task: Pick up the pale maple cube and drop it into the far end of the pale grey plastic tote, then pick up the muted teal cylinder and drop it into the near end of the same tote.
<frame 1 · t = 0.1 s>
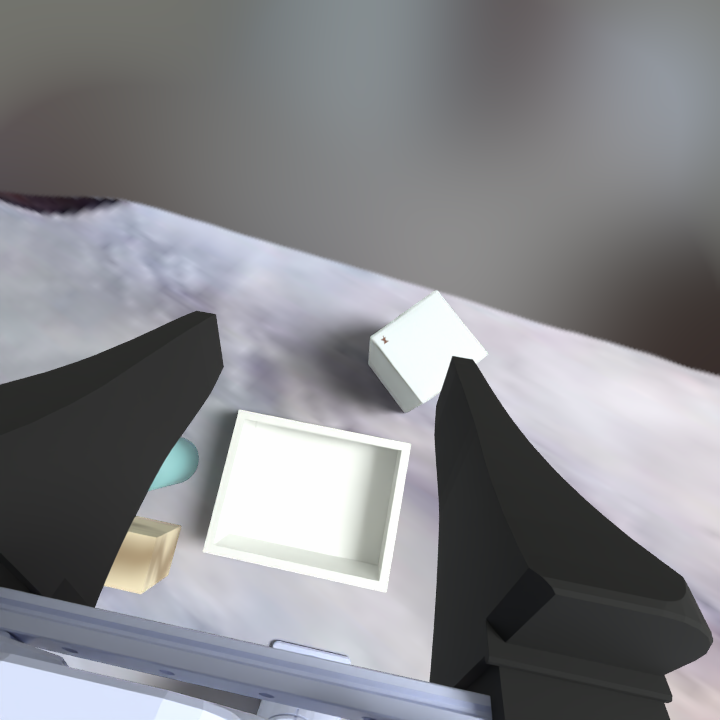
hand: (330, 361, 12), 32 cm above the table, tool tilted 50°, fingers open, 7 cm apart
maple cube: (152, 545, 41), on the table
tote: (315, 489, 42), on the table
teal cylinder: (176, 460, 42), on the table
supplement box: (410, 370, 44), on the table
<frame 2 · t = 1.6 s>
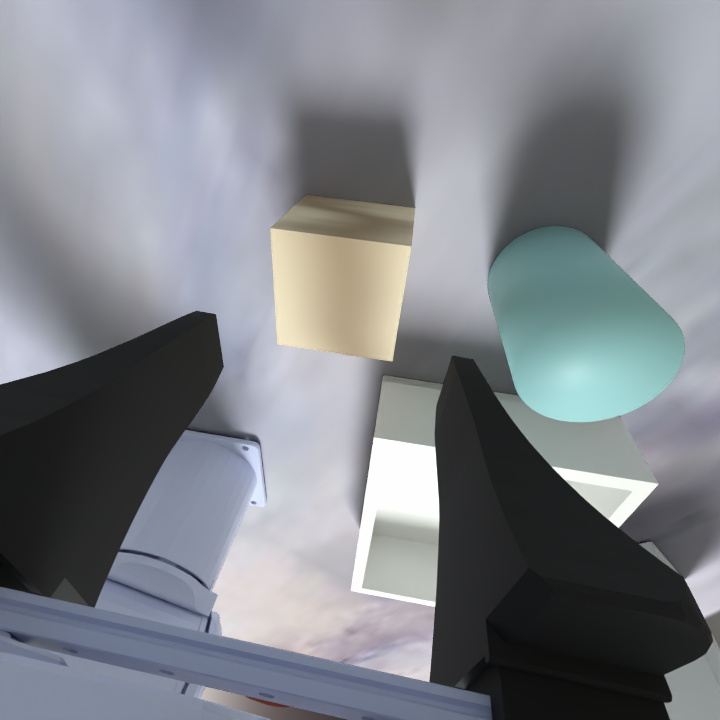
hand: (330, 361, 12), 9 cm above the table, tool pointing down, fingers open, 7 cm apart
maple cube: (356, 253, 19), on the table
tote: (461, 482, 28), on the table
teal cylinder: (542, 279, 18), on the table
supplement box: (619, 568, 32), on the table
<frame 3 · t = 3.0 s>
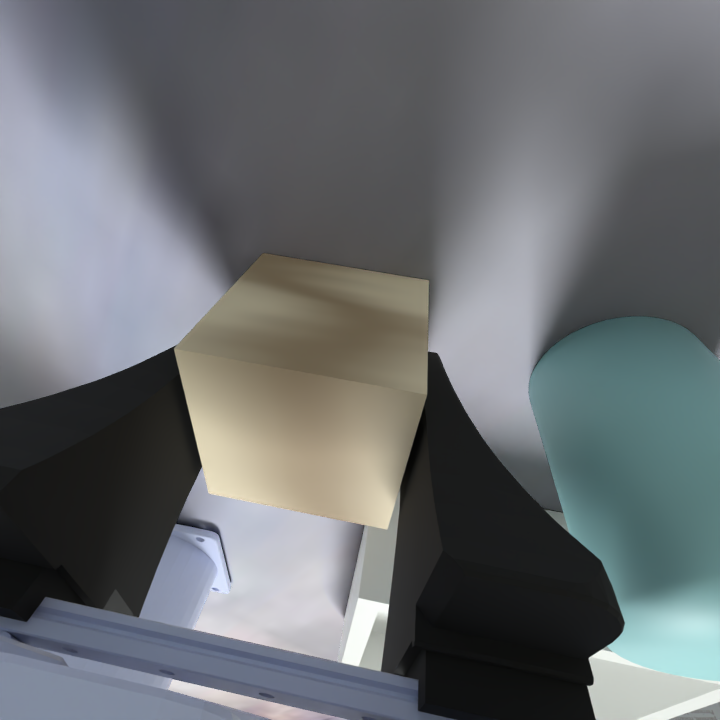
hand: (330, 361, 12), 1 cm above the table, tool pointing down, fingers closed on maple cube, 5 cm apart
maple cube: (338, 335, 13), on the table, touching gripper
tote: (470, 589, 22), on the table
teal cylinder: (611, 383, 12), on the table
supplement box: (653, 678, 26), on the table
when the fingers open (4 cm above the table, at t = 7.0 s): maple cube drops 2 cm, resting on tote.
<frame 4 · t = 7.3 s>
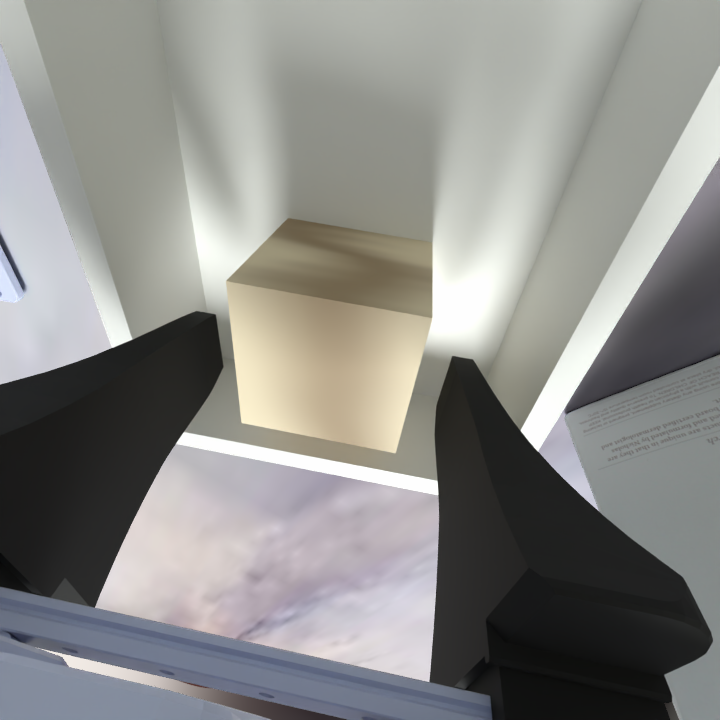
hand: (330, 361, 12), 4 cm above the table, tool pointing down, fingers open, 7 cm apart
maple cube: (352, 295, 14), point 1 cm above the table, touching tote
tote: (365, 188, 13), on the table
supplement box: (676, 427, 17), on the table
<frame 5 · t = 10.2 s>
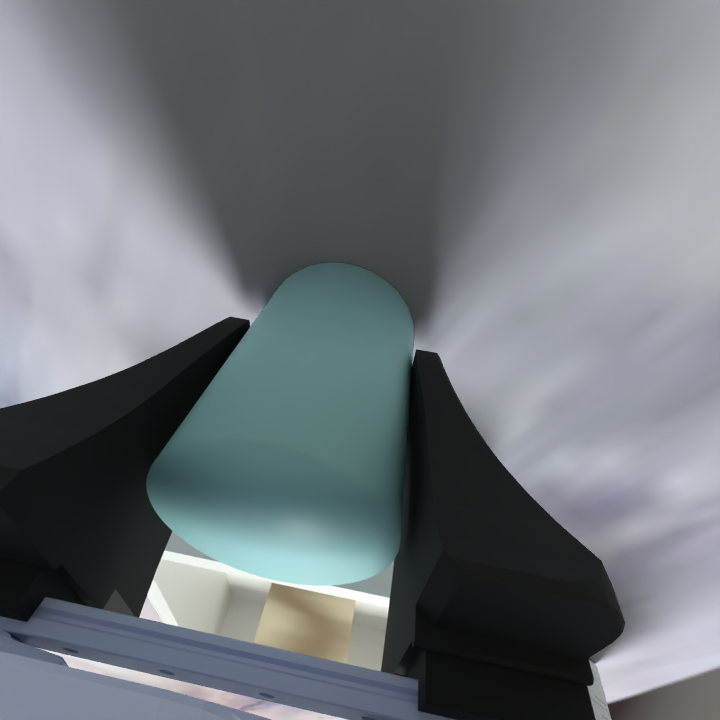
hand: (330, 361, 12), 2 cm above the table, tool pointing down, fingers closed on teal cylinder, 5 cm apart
maple cube: (315, 590, 25), point 1 cm above the table, touching tote
tote: (320, 554, 23), on the table
teal cylinder: (340, 332, 13), on the table, touching gripper
supplement box: (522, 646, 27), on the table
when the fingers open (4 cm above the table, at t = 13.8 s): teal cylinder drops 2 cm, resting on tote.
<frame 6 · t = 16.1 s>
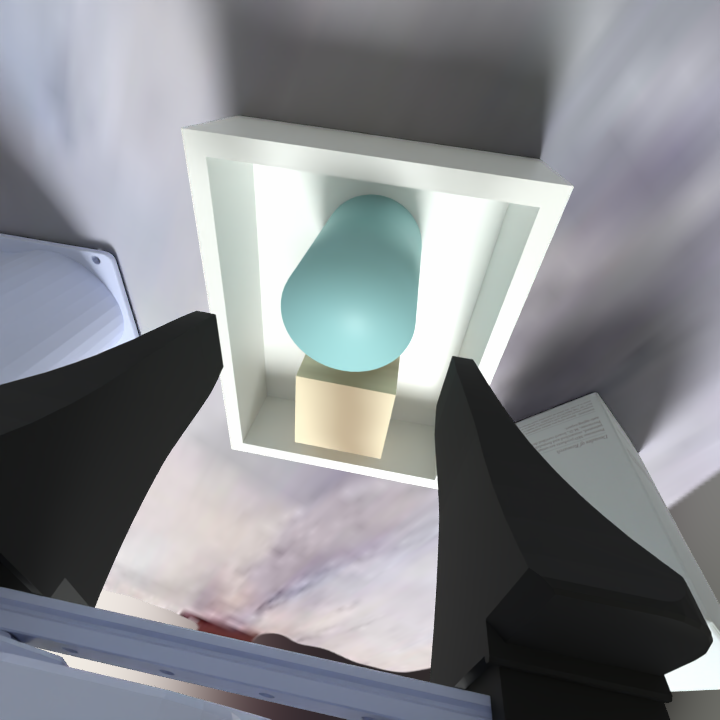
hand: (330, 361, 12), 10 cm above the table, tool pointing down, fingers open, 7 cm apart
maple cube: (356, 363, 24), point 1 cm above the table, touching tote
tote: (363, 308, 22), on the table
teal cylinder: (371, 246, 19), point 1 cm above the table, touching tote
supplement box: (562, 441, 27), on the table
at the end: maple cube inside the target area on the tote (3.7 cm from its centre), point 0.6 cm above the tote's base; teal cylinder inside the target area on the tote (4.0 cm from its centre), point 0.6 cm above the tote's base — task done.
